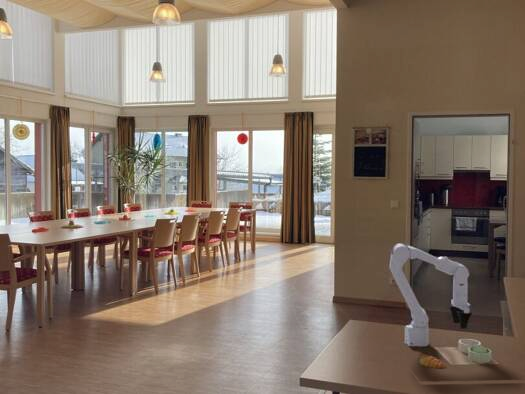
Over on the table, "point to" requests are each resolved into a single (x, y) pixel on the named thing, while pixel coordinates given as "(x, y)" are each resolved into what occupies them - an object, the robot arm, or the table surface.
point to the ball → (479, 349)
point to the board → (458, 356)
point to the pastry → (431, 362)
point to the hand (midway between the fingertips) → (459, 325)
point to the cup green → (479, 356)
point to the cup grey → (467, 344)
